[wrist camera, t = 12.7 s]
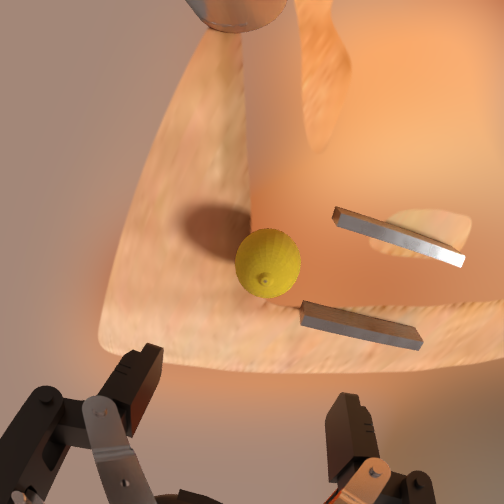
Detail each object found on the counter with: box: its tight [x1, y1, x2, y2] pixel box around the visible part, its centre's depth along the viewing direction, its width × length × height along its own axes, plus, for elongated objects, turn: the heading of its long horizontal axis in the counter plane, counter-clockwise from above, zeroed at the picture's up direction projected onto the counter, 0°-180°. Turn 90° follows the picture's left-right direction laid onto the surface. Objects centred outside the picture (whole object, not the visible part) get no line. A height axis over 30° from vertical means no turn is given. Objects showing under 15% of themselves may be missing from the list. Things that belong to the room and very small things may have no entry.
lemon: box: [235, 228, 301, 298], centre depth 27 cm, size 6×6×8 cm
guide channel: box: [300, 207, 465, 351], centre depth 29 cm, size 11×14×3 cm
